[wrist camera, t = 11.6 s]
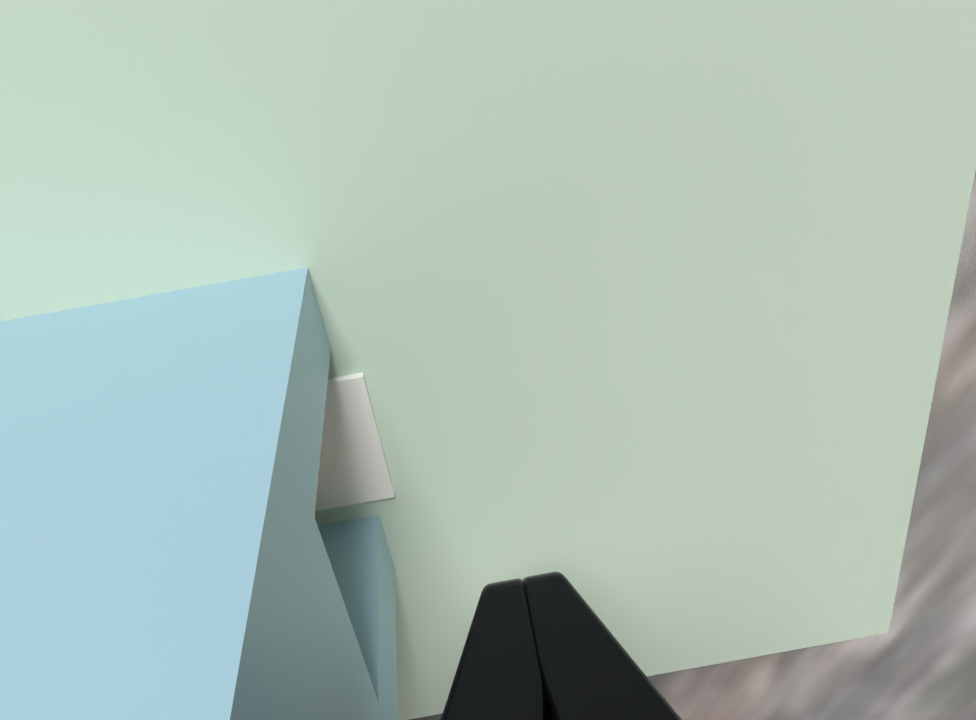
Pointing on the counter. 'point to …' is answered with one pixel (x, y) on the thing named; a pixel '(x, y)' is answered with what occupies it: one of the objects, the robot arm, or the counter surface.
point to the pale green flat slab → (545, 276)
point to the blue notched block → (182, 517)
